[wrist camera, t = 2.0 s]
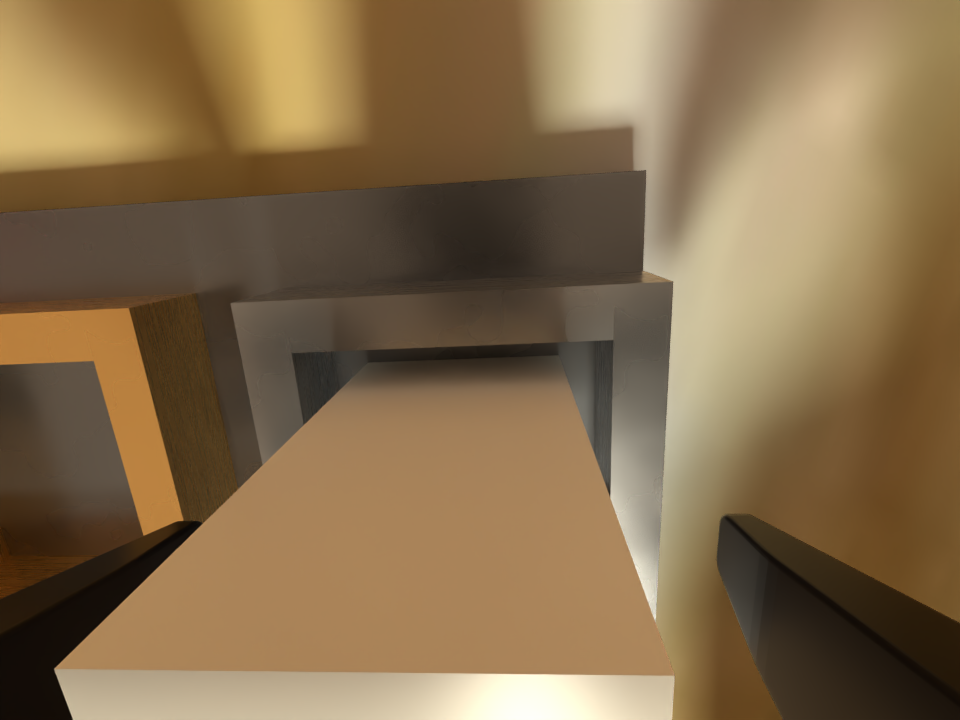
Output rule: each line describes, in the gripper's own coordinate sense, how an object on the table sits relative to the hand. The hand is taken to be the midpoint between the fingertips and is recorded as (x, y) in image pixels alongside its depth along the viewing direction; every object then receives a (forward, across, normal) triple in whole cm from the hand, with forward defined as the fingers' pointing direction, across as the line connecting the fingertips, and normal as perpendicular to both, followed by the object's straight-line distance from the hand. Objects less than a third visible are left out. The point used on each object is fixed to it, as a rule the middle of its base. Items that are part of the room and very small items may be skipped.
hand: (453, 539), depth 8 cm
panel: (+4, +5, 0) cm, 7 cm away
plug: (+4, 0, 0) cm, 4 cm away
